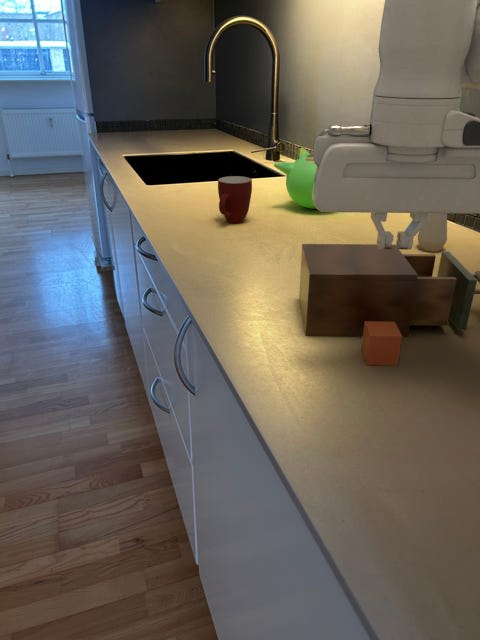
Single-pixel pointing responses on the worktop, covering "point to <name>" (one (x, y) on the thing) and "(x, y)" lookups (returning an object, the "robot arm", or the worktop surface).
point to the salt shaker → (433, 232)
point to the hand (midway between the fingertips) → (393, 248)
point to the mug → (234, 197)
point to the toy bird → (300, 178)
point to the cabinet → (354, 288)
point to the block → (381, 343)
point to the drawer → (442, 291)
